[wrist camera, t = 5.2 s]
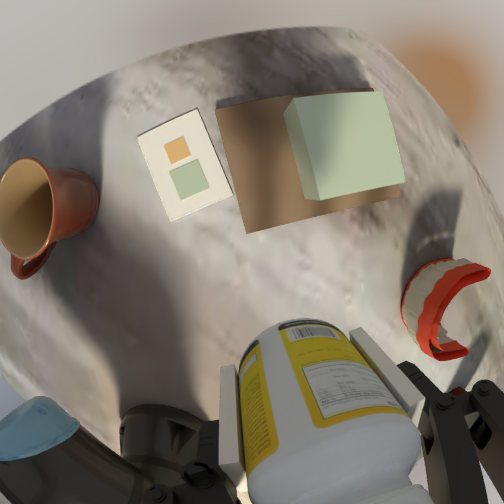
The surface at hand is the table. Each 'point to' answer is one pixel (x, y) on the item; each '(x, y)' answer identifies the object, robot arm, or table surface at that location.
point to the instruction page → (184, 165)
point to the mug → (42, 211)
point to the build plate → (276, 166)
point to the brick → (343, 143)
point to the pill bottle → (322, 422)
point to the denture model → (437, 304)
